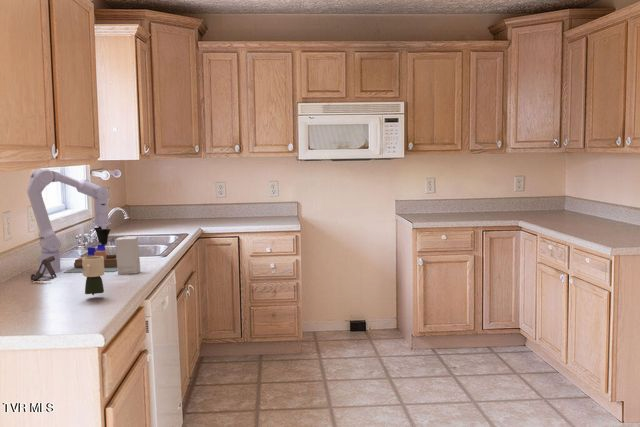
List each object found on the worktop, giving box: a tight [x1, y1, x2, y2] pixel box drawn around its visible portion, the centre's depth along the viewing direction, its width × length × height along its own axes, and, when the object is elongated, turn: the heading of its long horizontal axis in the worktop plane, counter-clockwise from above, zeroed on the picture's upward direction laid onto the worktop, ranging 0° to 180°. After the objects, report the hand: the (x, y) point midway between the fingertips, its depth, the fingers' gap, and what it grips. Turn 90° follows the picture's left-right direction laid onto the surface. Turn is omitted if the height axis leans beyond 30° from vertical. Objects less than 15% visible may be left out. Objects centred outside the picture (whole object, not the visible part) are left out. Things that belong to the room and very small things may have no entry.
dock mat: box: [63, 266, 118, 274], centre depth 264 cm, size 16×21×1 cm
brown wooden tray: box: [73, 254, 117, 268], centre depth 272 cm, size 14×20×3 cm
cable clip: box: [87, 243, 106, 255], centre depth 295 cm, size 12×4×6 cm, turn 175°
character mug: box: [82, 256, 105, 296], centre depth 212 cm, size 11×7×13 cm, turn 0°
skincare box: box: [114, 236, 141, 275], centre depth 253 cm, size 8×6×15 cm
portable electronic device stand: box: [30, 256, 58, 282], centre depth 244 cm, size 9×8×8 cm
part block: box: [94, 250, 107, 259], centre depth 272 cm, size 4×4×5 cm
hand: (102, 243), depth 274 cm, fingers open, 7 cm apart
